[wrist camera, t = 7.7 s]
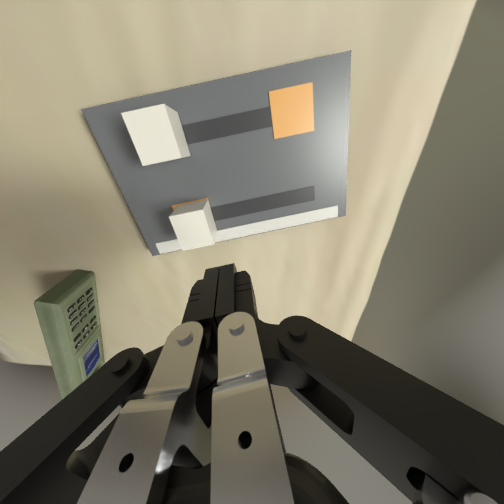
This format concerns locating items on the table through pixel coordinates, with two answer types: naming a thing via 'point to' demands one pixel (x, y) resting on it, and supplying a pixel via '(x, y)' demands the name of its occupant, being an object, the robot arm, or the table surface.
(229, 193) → the switch panel
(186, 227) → the outer switch
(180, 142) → the inner switch
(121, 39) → the table surface
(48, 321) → the handheld radio
